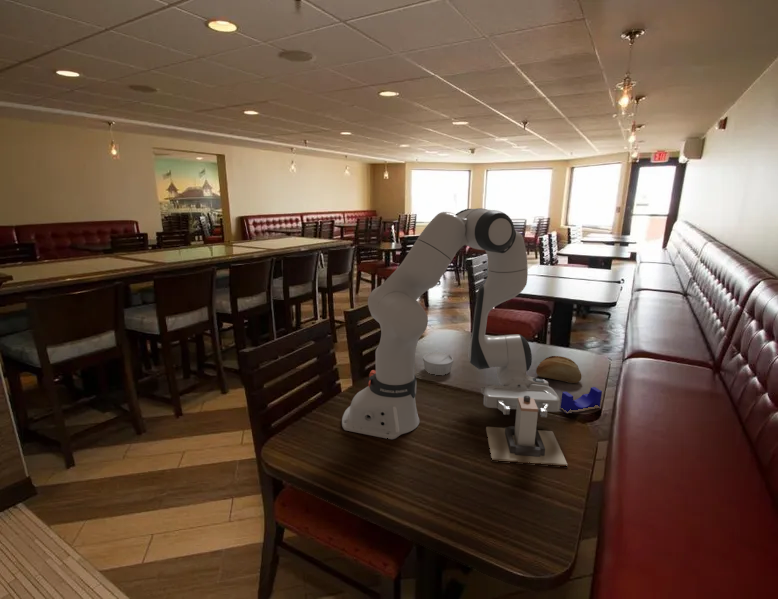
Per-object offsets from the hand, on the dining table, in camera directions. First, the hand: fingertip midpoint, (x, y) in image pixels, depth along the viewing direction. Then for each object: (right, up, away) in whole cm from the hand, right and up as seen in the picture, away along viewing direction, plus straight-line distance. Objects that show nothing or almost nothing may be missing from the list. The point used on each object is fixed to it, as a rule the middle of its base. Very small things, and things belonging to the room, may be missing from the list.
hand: (525, 413), depth 105 cm
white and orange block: (0, -8, +1) cm, 8 cm away
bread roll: (+25, +1, +39) cm, 47 cm away
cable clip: (+23, -4, +20) cm, 31 cm away
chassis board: (0, -9, +1) cm, 9 cm away
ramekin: (-17, +3, +46) cm, 49 cm away
